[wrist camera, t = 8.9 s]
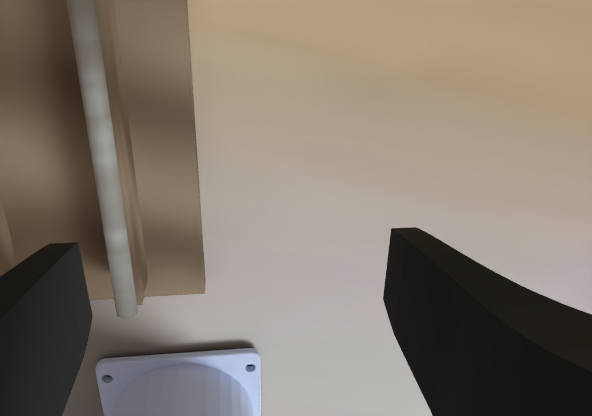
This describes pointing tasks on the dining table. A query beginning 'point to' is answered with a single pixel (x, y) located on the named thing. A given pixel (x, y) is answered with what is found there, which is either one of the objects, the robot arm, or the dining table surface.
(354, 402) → the dining table surface
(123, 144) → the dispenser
